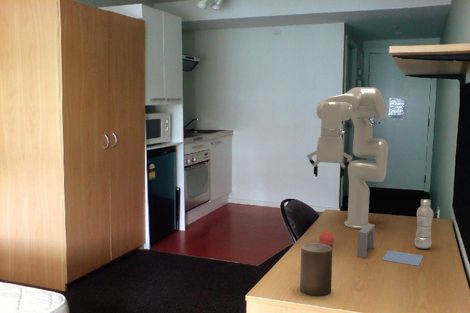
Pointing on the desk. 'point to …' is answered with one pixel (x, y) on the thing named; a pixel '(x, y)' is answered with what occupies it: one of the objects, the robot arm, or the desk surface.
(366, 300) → the desk surface
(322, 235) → the ball
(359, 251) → the bridge
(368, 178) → the robot arm
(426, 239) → the plastic bottle
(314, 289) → the pillar candle
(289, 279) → the desk surface
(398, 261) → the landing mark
